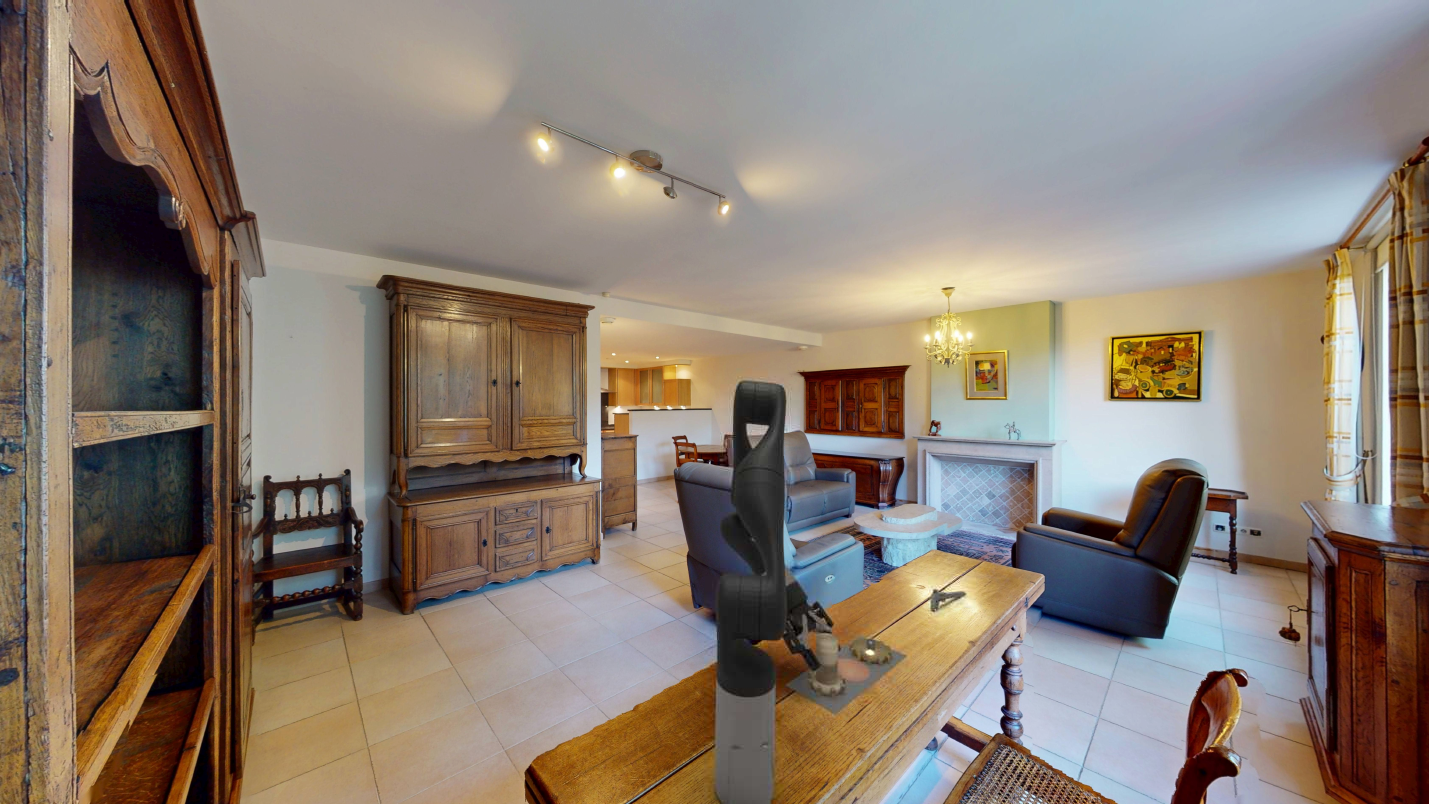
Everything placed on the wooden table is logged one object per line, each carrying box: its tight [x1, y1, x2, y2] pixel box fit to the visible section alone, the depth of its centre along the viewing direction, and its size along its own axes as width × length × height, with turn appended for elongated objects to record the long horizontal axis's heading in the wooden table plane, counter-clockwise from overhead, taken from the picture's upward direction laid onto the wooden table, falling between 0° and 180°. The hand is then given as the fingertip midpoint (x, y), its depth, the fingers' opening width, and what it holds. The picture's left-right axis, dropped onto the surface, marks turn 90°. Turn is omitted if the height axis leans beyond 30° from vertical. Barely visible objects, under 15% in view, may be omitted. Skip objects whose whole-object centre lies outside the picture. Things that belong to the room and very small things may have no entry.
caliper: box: [929, 588, 967, 612], centre depth 142 cm, size 20×1×6 cm, turn 128°
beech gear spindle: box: [808, 633, 846, 699], centre depth 97 cm, size 8×8×10 cm
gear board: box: [785, 635, 908, 715], centre depth 104 cm, size 30×12×2 cm, turn 133°
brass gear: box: [849, 636, 892, 666], centre depth 110 cm, size 9×9×3 cm
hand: (827, 660), depth 97 cm, fingers open, 8 cm apart
